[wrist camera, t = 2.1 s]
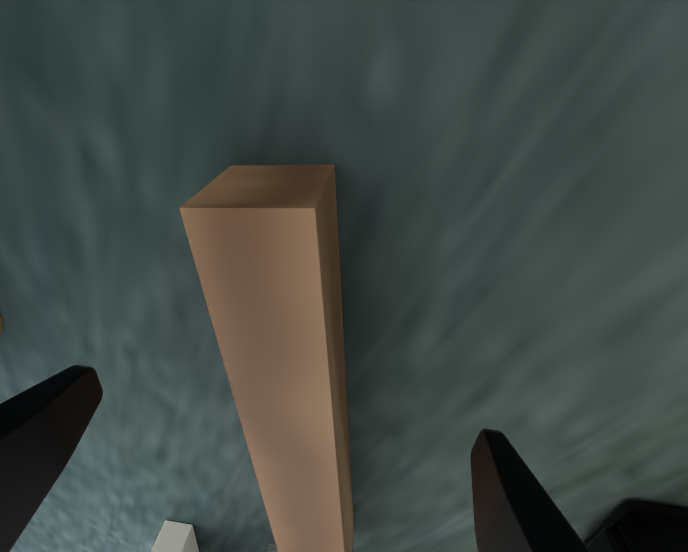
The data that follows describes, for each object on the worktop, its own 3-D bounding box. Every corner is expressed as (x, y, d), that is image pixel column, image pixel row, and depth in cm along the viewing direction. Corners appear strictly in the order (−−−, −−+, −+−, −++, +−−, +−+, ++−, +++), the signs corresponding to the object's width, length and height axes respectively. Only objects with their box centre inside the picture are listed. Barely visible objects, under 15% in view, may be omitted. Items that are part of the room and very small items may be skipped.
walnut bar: (335, 161, 13) (314, 208, 9) (354, 523, 25) (348, 597, 22) (234, 162, 13) (179, 207, 10) (302, 518, 26) (289, 590, 23)
